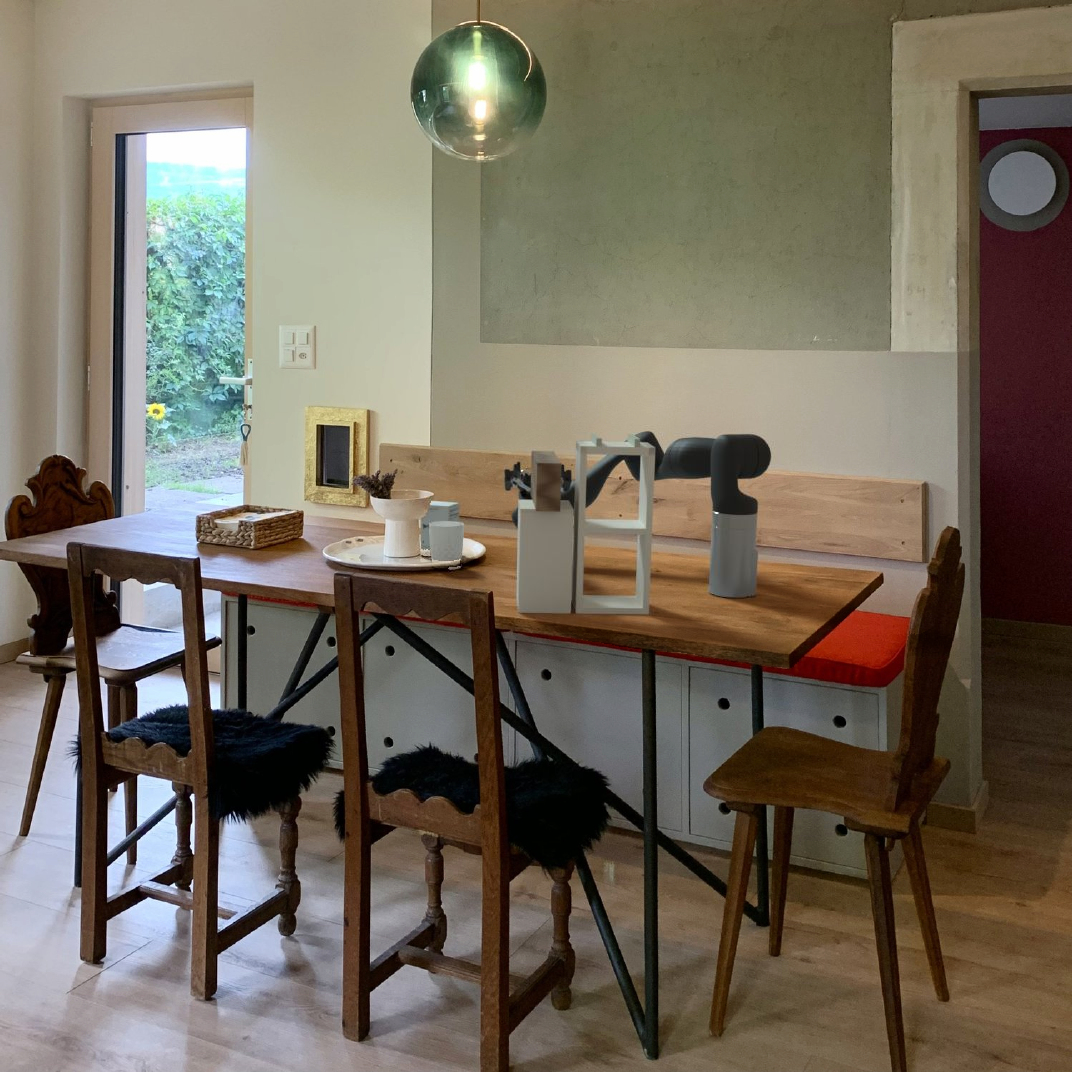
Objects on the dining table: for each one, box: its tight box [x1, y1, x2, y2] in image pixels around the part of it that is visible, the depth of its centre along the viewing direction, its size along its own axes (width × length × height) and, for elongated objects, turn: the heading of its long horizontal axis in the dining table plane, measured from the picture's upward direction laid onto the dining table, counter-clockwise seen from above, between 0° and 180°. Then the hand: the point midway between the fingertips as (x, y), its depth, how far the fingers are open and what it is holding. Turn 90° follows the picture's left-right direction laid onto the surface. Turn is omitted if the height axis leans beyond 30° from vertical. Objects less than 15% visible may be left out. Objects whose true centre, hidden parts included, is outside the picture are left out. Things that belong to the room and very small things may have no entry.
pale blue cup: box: [429, 521, 465, 571], centre depth 270 cm, size 8×8×10 cm
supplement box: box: [420, 500, 461, 550], centre depth 285 cm, size 7×7×13 cm
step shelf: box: [516, 433, 655, 615], centre depth 232 cm, size 25×13×34 cm, turn 93°
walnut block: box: [530, 450, 563, 512], centre depth 233 cm, size 4×24×9 cm, turn 3°
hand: (539, 466), depth 248 cm, fingers open, 8 cm apart
